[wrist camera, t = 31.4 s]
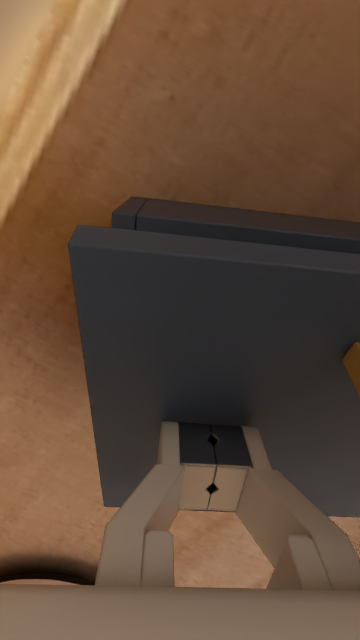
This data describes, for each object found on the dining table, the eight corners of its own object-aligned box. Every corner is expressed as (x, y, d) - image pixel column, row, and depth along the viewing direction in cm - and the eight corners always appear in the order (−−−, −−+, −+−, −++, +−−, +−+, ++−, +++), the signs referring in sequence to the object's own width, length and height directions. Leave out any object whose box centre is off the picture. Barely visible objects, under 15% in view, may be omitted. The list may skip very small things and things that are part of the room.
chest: (131, 196, 16) (111, 211, 10) (464, 234, 17) (595, 264, 12) (122, 411, 21) (106, 489, 16) (370, 427, 23) (430, 504, 18)
